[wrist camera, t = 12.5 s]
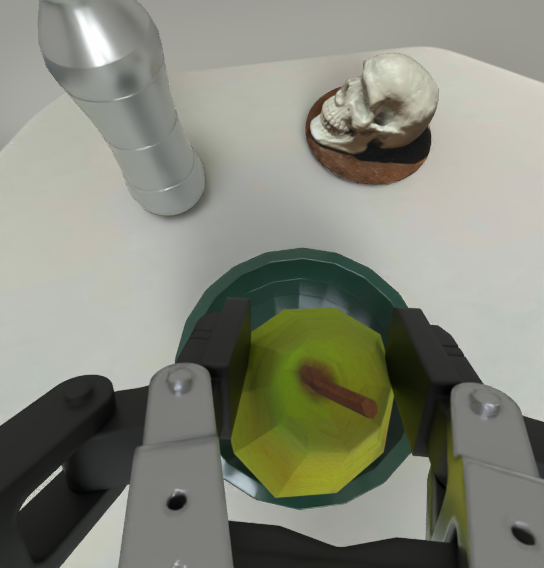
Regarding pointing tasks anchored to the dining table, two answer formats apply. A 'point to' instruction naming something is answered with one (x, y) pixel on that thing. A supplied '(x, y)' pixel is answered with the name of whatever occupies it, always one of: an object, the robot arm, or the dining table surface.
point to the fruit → (312, 402)
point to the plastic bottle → (124, 95)
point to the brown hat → (376, 121)
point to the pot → (303, 295)
